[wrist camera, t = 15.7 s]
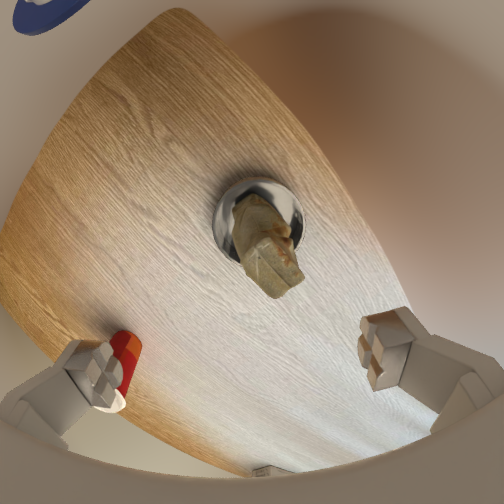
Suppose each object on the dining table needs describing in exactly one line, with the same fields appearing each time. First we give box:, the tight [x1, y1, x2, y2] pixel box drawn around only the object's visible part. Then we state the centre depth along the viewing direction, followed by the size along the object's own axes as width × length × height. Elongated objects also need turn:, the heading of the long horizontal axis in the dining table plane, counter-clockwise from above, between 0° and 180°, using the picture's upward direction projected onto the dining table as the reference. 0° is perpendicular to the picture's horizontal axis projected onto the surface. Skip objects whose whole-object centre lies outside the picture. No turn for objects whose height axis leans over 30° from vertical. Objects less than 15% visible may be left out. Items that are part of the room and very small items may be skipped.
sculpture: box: [232, 193, 305, 299], centre depth 28 cm, size 6×7×15 cm
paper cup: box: [93, 330, 142, 413], centre depth 36 cm, size 8×8×14 cm
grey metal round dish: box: [212, 176, 306, 267], centre depth 33 cm, size 11×11×4 cm
